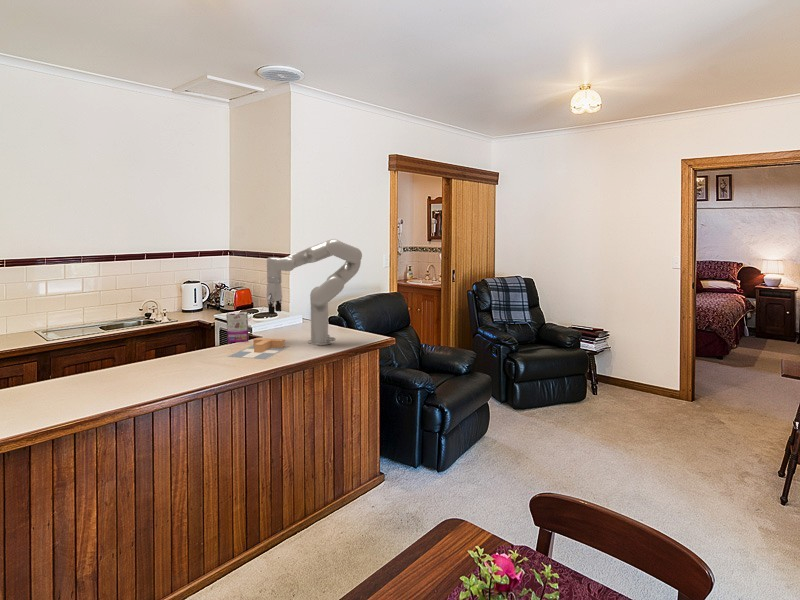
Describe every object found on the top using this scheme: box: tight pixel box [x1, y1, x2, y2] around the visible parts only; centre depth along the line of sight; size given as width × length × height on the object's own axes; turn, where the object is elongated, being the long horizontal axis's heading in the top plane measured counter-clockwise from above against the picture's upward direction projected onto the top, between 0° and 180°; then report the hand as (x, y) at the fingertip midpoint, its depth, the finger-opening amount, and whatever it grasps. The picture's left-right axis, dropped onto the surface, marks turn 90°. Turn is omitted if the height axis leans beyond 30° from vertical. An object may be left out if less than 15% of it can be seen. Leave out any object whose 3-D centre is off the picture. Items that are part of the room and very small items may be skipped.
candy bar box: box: [226, 311, 249, 344], centre depth 288 cm, size 11×5×16 cm, turn 105°
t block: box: [252, 337, 286, 353], centre depth 270 cm, size 16×15×4 cm
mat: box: [227, 344, 291, 360], centre depth 266 cm, size 20×30×1 cm, turn 169°
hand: (275, 312), depth 281 cm, fingers open, 7 cm apart
